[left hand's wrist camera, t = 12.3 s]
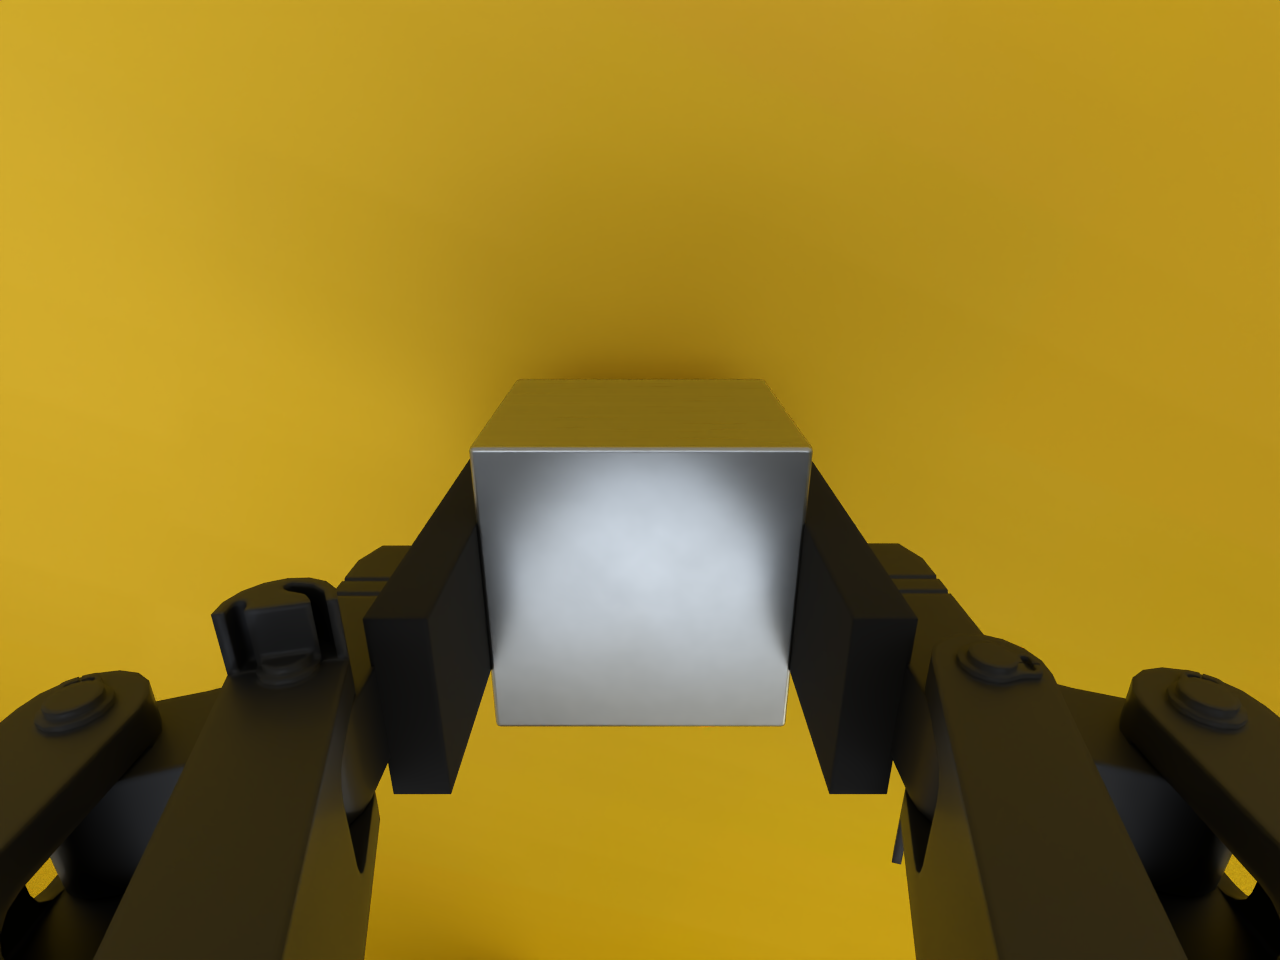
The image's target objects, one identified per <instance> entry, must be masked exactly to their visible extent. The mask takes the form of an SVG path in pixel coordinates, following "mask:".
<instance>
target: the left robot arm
mask: <svg viewBox="0 0 1280 960" xmlns="http://www.w3.org/2000/svg"><path fill="white" fill-rule="evenodd" d="M211 617H212V620H213V624H214V627H215V631H216V635H217V638H218V642H219V646H220V649H221V653H222V656H223V660H224V664H225V667H226V671H227V674H228V676H227V678H226V680H225V682H224V684H223V686H222V688H218V689H214V690H211V691H206V692H201V693H196V694H191V695H186V696H181V697H176V698H171V699H166V700H161V701H155V698H154V695H153V691H152V688H151V685H150V682H149V680H147V679H146V678H145V677H143V676H142V675H141V674H139V673H135V672H128V671H120V670H119V671H111V672H102V673H93V674H88V675H84V676H82V677H81V678H79V677H77V678H74V679H71V680H68V681H65V682H63V683H61V684H60V685H58V686H56V687H54V688H52V689H49V690H47V691H45V692H43V693H41V694H39V695H37V696H36V697H34V698H33V699H31V700H30V701H28V702H27V703H25V704H24V705H22V706H21V707H19V708H18V709H16V710H15V711H14V712H13V713H11V714H10V715H9V716H8V717H6V718H5V719H4V720H3V721H2V722H0V960H364V955H365V946H366V937H367V928H368V920H369V911H370V902H371V893H372V884H373V876H374V867H375V858H376V849H377V840H378V832H379V823H380V817H379V810H378V804H377V799H376V794H375V790H376V788H377V786H378V783H379V781H380V779H381V777H382V775H383V772H384V770H385V768H386V766H387V763H388V764H389V770H390V775H391V781H392V787H393V792H394V794H451V792H452V789H453V786H454V783H455V780H456V777H457V774H458V771H459V768H460V764H461V761H462V758H463V755H464V752H465V749H466V746H467V743H468V740H469V736H470V733H471V730H472V727H473V724H474V721H475V718H476V715H477V712H478V708H479V705H480V702H481V699H482V696H483V693H484V690H485V687H486V684H487V680H488V677H489V674H490V671H491V663H490V653H489V643H488V633H487V623H486V613H485V603H484V592H483V582H482V572H481V562H480V552H479V542H478V532H477V522H476V513H475V503H474V493H473V483H472V472H471V462H470V460H469V461H468V463H467V464H466V466H465V467H464V469H463V470H462V471H461V473H460V474H459V476H458V477H457V479H456V480H455V482H454V483H453V485H452V486H451V488H450V489H449V491H448V492H447V494H446V495H445V497H444V498H443V500H442V501H441V503H440V504H439V506H438V507H437V509H436V510H435V512H434V513H433V515H432V516H431V518H430V519H429V521H428V522H427V524H426V525H425V526H424V528H423V529H422V531H421V532H420V534H419V535H418V537H417V538H416V540H415V541H414V543H413V544H412V546H381V547H380V548H378V549H376V550H375V551H373V552H372V553H370V554H368V555H367V556H365V557H363V558H362V559H360V560H359V561H358V562H357V563H356V564H355V566H354V567H353V568H352V569H351V571H350V572H349V573H348V574H347V576H346V577H345V581H342V582H341V583H340V585H339V586H338V587H337V588H335V587H333V586H332V585H331V584H329V583H328V582H327V581H323V580H318V579H313V578H287V579H282V580H277V581H272V582H267V583H263V584H260V585H257V586H255V587H252V588H249V589H246V590H244V591H241V592H239V593H238V594H236V595H234V596H233V597H231V598H229V599H228V600H226V601H224V602H223V603H222V604H221V605H220V606H219V607H218V608H217V609H216V610H215V611H214V612H213V613H212V614H211ZM790 673H791V676H792V679H793V682H794V685H795V688H796V691H797V694H798V698H799V701H800V704H801V707H802V710H803V713H804V716H805V719H806V722H807V726H808V729H809V732H810V735H811V738H812V741H813V744H814V747H815V750H816V754H817V757H818V760H819V763H820V766H821V769H822V772H823V775H824V778H825V782H826V785H827V788H828V791H829V794H887V789H888V784H889V778H890V773H891V767H892V762H893V761H894V763H895V766H896V768H897V770H898V772H899V774H900V776H901V779H902V781H903V783H904V785H905V787H906V788H905V794H904V799H903V804H902V809H901V814H900V819H899V825H898V830H897V835H896V840H895V845H894V851H893V858H892V862H893V863H897V864H901V861H902V856H903V851H904V856H905V865H906V874H907V883H908V891H909V900H910V909H911V918H912V926H913V935H914V944H915V953H916V960H1280V717H1278V716H1277V715H1276V714H1275V713H1273V712H1272V711H1271V710H1270V709H1269V708H1267V707H1266V706H1265V705H1263V704H1262V703H1260V702H1259V701H1257V700H1255V699H1254V698H1252V697H1251V696H1249V695H1248V694H1246V693H1245V692H1243V691H1242V690H1239V689H1237V688H1235V687H1233V686H1230V685H1228V684H1226V683H1224V682H1222V681H1221V680H1219V679H1217V678H1214V677H1211V676H1208V675H1205V674H1203V675H1201V674H1200V673H1198V672H1194V671H1189V670H1179V669H1171V668H1154V669H1147V670H1142V671H1141V672H1140V673H1138V674H1137V675H1136V676H1134V677H1133V678H1132V681H1131V684H1130V688H1129V691H1128V694H1127V697H1126V699H1125V698H1120V697H1115V696H1110V695H1105V694H1100V693H1095V692H1090V691H1085V690H1079V689H1074V688H1070V687H1066V686H1062V685H1058V684H1057V683H1056V681H1055V679H1054V677H1053V674H1052V673H1051V672H1050V671H1049V669H1048V668H1047V667H1046V666H1045V664H1044V663H1043V662H1042V661H1041V660H1040V659H1038V658H1037V657H1036V656H1034V655H1033V654H1031V653H1030V652H1028V651H1027V650H1025V649H1024V648H1022V647H1019V646H1017V645H1015V644H1012V643H1010V642H1008V641H1005V640H1003V639H999V638H995V637H990V636H986V635H983V633H982V632H981V631H980V630H979V628H978V627H977V626H976V625H975V623H974V622H973V621H972V620H971V618H970V617H969V616H968V615H967V613H966V612H965V611H964V610H963V608H962V607H961V606H960V605H959V603H958V602H957V601H956V600H955V598H954V597H953V596H952V595H951V594H948V590H947V588H946V587H945V586H944V585H943V583H942V582H941V581H940V580H939V579H936V575H935V573H934V572H933V571H932V570H931V568H930V567H929V566H928V565H927V563H926V562H925V561H924V560H923V558H921V557H919V556H918V555H916V554H915V553H913V552H911V551H910V550H908V549H906V548H905V547H903V546H901V545H900V544H867V542H866V541H865V539H864V538H863V536H862V535H861V533H860V532H859V530H858V529H857V527H856V526H855V524H854V523H853V521H852V520H851V518H850V517H849V515H848V514H847V512H846V511H845V509H844V508H843V506H842V505H841V503H840V502H839V500H838V499H837V497H836V496H835V494H834V493H833V492H832V490H831V489H830V487H829V486H828V484H827V483H826V481H825V480H824V478H823V477H822V475H821V474H820V472H819V471H818V469H817V468H816V466H815V465H814V463H813V462H812V464H811V474H810V484H809V494H808V503H807V513H806V522H805V526H804V535H803V545H802V555H801V565H800V575H799V585H798V595H797V605H796V615H795V625H794V635H793V645H792V655H791V665H790ZM1232 854H1233V855H1234V856H1235V857H1236V858H1237V859H1238V861H1239V862H1240V863H1241V864H1242V865H1243V866H1244V867H1245V868H1246V869H1247V871H1248V872H1249V873H1250V874H1251V875H1252V876H1253V877H1254V878H1255V880H1256V881H1257V883H1256V885H1255V888H1254V890H1253V892H1252V893H1251V894H1250V895H1249V896H1247V895H1245V894H1244V893H1243V892H1242V891H1241V890H1240V889H1239V888H1238V887H1237V886H1236V885H1235V884H1234V883H1233V882H1232V881H1231V880H1230V878H1229V877H1228V876H1227V875H1226V874H1225V873H1224V871H1225V868H1226V866H1227V864H1228V862H1229V860H1230V857H1231V855H1232ZM49 858H51V860H52V862H53V865H54V867H55V869H56V871H57V873H58V875H57V876H56V877H55V878H54V880H53V881H52V882H51V883H50V884H49V885H48V887H47V888H46V889H45V890H43V891H42V892H41V893H40V894H39V895H37V896H36V897H35V898H33V897H31V896H30V894H29V892H28V890H27V888H26V886H25V884H26V883H27V882H28V881H29V880H30V879H31V878H32V877H33V875H34V874H35V873H36V872H37V871H38V870H39V869H40V868H41V867H42V865H43V864H44V863H45V862H46V861H47V860H48V859H49Z"/></svg>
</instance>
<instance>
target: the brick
mask: <svg viewBox="0 0 1280 960" xmlns="http://www.w3.org/2000/svg"><path fill="white" fill-rule="evenodd" d="M469 452H470V462H471V472H472V483H473V493H474V503H475V513H476V522H477V532H478V542H479V552H480V562H481V572H482V582H483V592H484V603H485V613H486V623H487V633H488V643H489V653H490V663H491V674H492V684H493V694H494V705H495V715H496V722H497V725H498V726H783V725H784V724H785V720H786V710H787V700H788V690H789V681H790V665H791V655H792V645H793V635H794V625H795V615H796V605H797V595H798V585H799V575H800V565H801V555H802V545H803V535H804V526H805V522H806V513H807V503H808V494H809V484H810V474H811V464H812V454H813V450H812V447H811V446H810V444H809V443H808V441H807V440H806V439H805V437H804V436H803V434H802V433H801V432H800V430H799V429H798V427H797V426H796V425H795V423H794V422H793V420H792V419H791V418H790V416H789V415H788V413H787V412H786V410H785V409H784V408H783V406H782V405H781V403H780V402H779V401H778V399H777V398H776V396H775V395H774V394H773V392H772V391H771V389H770V388H769V387H768V385H767V384H766V382H765V381H764V380H762V379H519V380H517V381H516V383H515V384H514V386H513V387H512V389H511V390H510V391H509V393H508V394H507V396H506V397H505V399H504V400H503V401H502V403H501V404H500V406H499V407H498V409H497V410H496V411H495V413H494V414H493V416H492V417H491V419H490V420H489V421H488V423H487V424H486V426H485V427H484V429H483V430H482V431H481V433H480V434H479V436H478V437H477V439H476V440H475V441H474V443H473V444H472V446H471V447H470V450H469Z"/></svg>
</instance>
